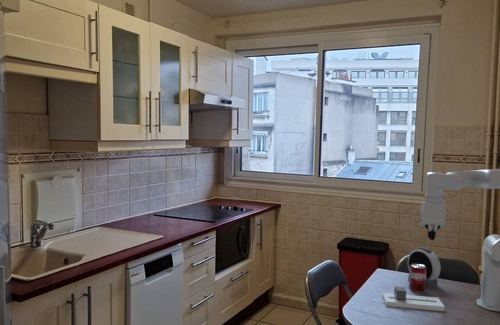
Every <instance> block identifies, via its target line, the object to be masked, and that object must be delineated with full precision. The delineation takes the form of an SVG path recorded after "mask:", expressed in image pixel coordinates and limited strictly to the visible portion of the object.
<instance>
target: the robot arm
mask: <svg viewBox="0 0 500 325" xmlns="http://www.w3.org/2000/svg"><path fill="white" fill-rule="evenodd" d="M462 188H480V189H485V190H487V189H488V190H495V189H500V168H493V169H492V168H491V169H478V170H477V169H476V170H474V169H473V170H459V171H449V172H446V173H443V172H438V171H437V172H436V171H435V172H434V171H430V172H429V171H428V172H427V173H426V175H425V188H424V201H423V200H422V202H421V206H420V213H419V226H420V227H424V228H425V229H426V230H427V238H428V240H430V241H435V239H436V236H437V235H436V234H437V233H436V232H437V231H438V230H440V229H443V228H445V227H446V225H445V224H446V207H445V203H444V202H445V201H447V197H444V190H450V191H459V190H461V189H462ZM481 272H482V273H481V288H480V298H477V299H476V302H475V303H476V304H477V306H478V307H481V308H483V309H486V310H488V311H494V312H498V313H499V312H500V235H499V234H496V233H494V234H491V235H488V236H486V237H485V239H484V241H483V243H482V271H481Z"/></svg>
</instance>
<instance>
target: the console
mask: <svg viewBox="0 0 500 325" xmlns="http://www.w3.org/2000/svg"><path fill="white" fill-rule="evenodd" d="M381 296H382V300H383V302H384V305H385V306H386V307H394V308H405V309H415V310H426V311H437V312H445V308H446V307H445V305H444V303H443V302H442V301H441V299H440V298H439V297H433V296H423V295H414V294H413V295H412V294H406V300H398V299H396V298H395V296H394V293H387V292H382V295H381Z"/></svg>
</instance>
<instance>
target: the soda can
mask: <svg viewBox="0 0 500 325" xmlns="http://www.w3.org/2000/svg"><path fill="white" fill-rule="evenodd" d="M426 270H427V268H426V266H424V265H421V264H411V266H410V271H409V274H410V280H409V281H408V289H409V290H410V291H412V292H414V293H417V294H419V293H420V294H421V293H424V292H426V288H425V287H426Z"/></svg>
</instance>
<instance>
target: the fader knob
mask: <svg viewBox="0 0 500 325" xmlns="http://www.w3.org/2000/svg"><path fill="white" fill-rule="evenodd" d="M393 292H394V293H393V294H394V296H395V298H396V299H398V300H406V295H407V290H406V287H405V286H394V291H393Z"/></svg>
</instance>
